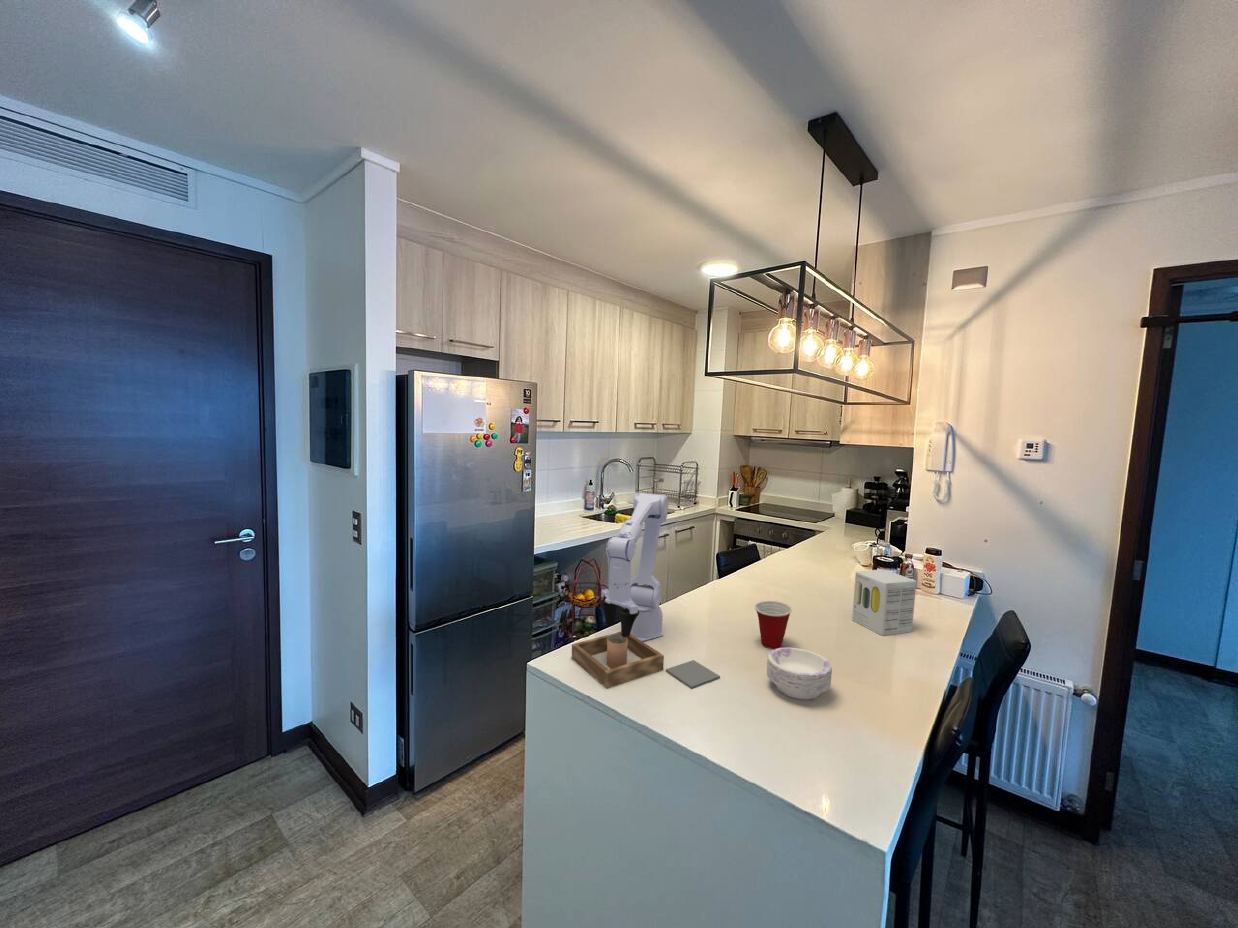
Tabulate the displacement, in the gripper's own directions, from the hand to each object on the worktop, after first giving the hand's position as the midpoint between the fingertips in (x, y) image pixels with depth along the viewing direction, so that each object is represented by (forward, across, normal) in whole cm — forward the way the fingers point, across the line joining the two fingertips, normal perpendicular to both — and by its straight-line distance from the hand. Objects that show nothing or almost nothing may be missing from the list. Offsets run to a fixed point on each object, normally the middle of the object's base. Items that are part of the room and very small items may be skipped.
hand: (617, 630), depth 132 cm
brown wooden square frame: (+9, 0, 0) cm, 9 cm away
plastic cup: (+10, +14, +47) cm, 50 cm away
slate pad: (+9, +15, +14) cm, 23 cm away
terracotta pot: (+9, 0, 0) cm, 9 cm away
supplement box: (+10, +24, +92) cm, 96 cm away
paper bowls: (+10, +34, +32) cm, 48 cm away
